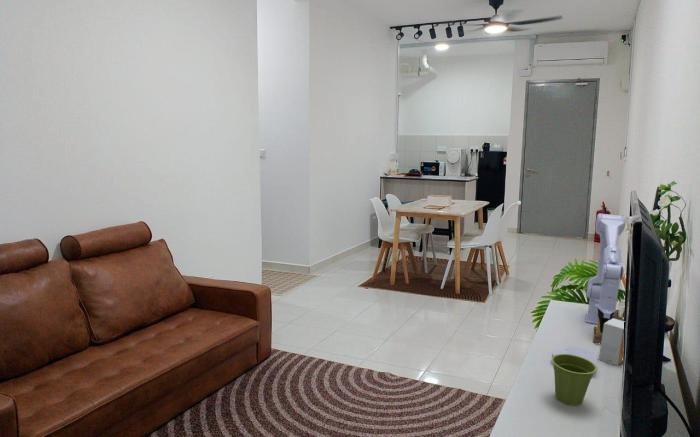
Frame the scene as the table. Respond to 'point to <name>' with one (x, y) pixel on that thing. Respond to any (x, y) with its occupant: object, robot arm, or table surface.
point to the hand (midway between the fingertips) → (603, 330)
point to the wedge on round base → (577, 353)
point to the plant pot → (572, 377)
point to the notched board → (597, 337)
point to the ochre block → (598, 328)
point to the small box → (612, 342)
